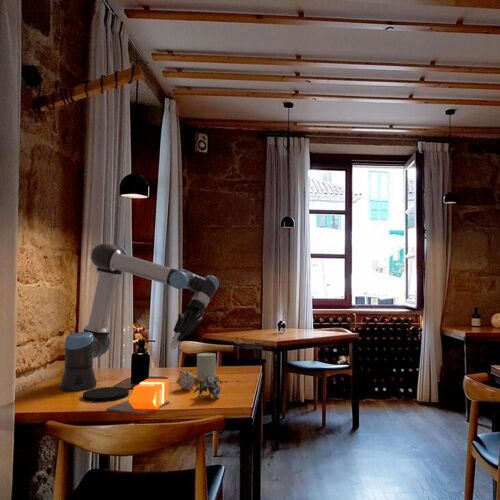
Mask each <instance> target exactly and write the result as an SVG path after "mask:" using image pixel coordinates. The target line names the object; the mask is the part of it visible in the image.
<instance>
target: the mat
mask: <svg viewBox="0 0 500 500" xmlns="http://www.w3.org/2000/svg"><path fill="white" fill-rule="evenodd" d="M169 404H170V401H168V400H166V401H165V402H164V403H163V404H162V405H161V406H160V407H159V408H158V409H161V408H163V407H164V406H167V405H169ZM106 410H107V411H109V412H116V413H124V414H125V413H126V414H132V415H141V416H145V415H148V414H150V413H152V412H154V411H157V409H134V408H133V407H132V405H131V404H130V403H129V399H128V400H126V401H123V402H120V403H118V404H116V405H112V406H110V407H108V408H107V409H106Z"/></svg>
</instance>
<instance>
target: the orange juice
mask: <svg viewBox="0 0 500 500" xmlns="http://www.w3.org/2000/svg"><path fill="white" fill-rule="evenodd" d="M128 400H129V403H130V404H131V405H132V407H133V408H134V409H156V410H158V409H160V408H161V407H160V406H161V405H162V404H163V403H164V402H165V401H168V400H169V379H168V378H167V379H166V378H163V379H162V378H146V379H145V380H143V381H140V382H139V384H137V385H135V386H133V390H132V392H131V394H130V397H129V399H128ZM159 407H160V408H159Z"/></svg>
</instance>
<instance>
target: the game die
mask: <svg viewBox="0 0 500 500" xmlns="http://www.w3.org/2000/svg"><path fill="white" fill-rule="evenodd" d="M192 371H193V370H192V369H191V370H190V371H181V370H179V376H178V379H177V380H176V381H175V383H177V385H178V386H179V387H180V391H181V392H182V390H190V389H191V390H192V391H193V390H194V388H193V386H194V385H195V382H196V380H197V377H195V376H194V374H193V373H192Z"/></svg>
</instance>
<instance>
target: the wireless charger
mask: <svg viewBox="0 0 500 500" xmlns="http://www.w3.org/2000/svg"><path fill="white" fill-rule="evenodd" d="M129 395H130V390H129V388H127V387H121V386H106V387H105V386H102V387H95V388H91V389H87V390H86V391H85V390H84V391H83V393H82V400H83V401H86V402H89V401H92V402H91V403H108V402H107V401H109V402H114V401H115V402H116V401H119V400H123V399H126V398H128V397H129Z"/></svg>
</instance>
